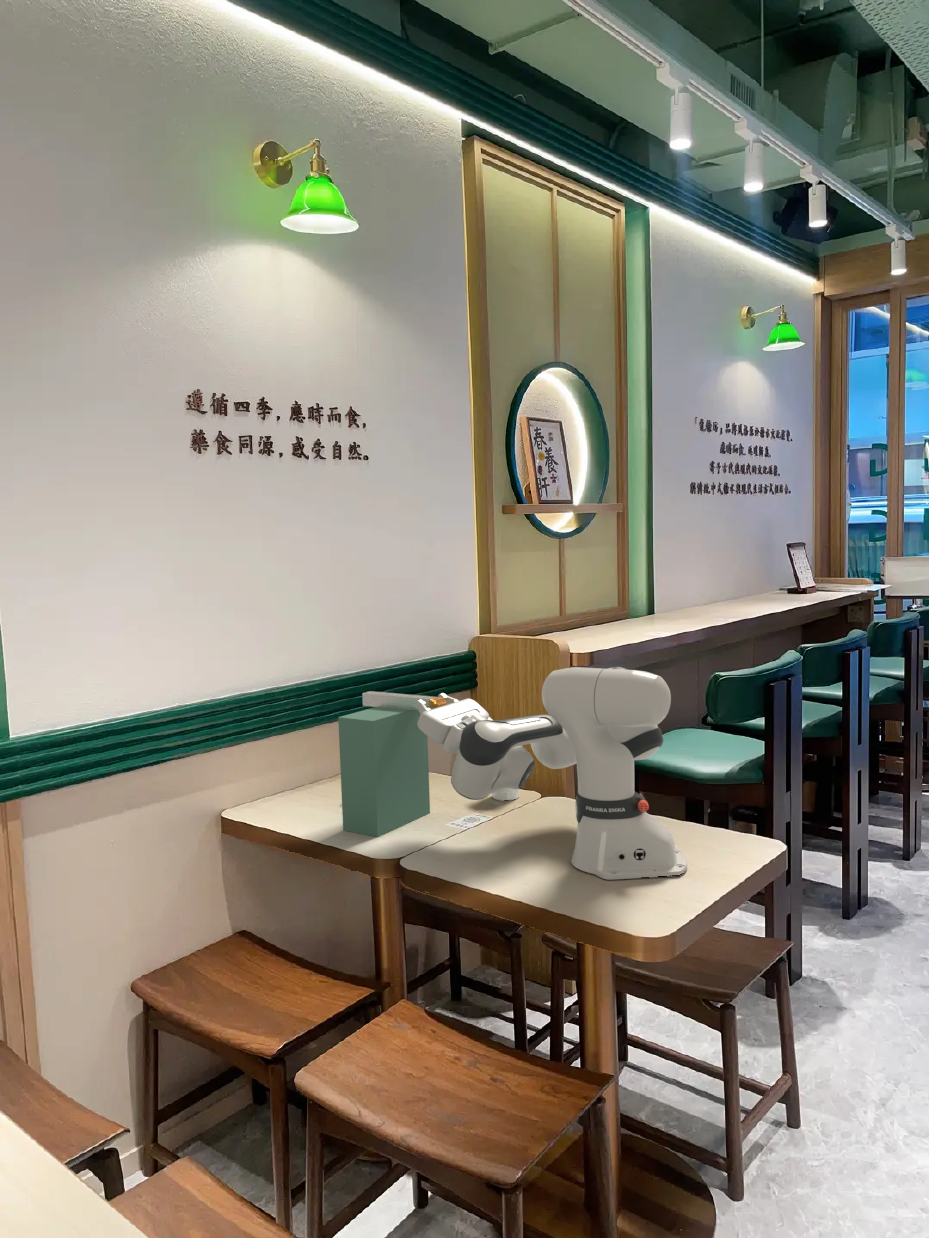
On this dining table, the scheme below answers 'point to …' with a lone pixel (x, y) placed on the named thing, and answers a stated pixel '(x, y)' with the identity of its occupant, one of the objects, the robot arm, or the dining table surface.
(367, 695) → the lever bar
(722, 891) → the dining table surface
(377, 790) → the green box
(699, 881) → the dining table surface
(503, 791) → the white cup
